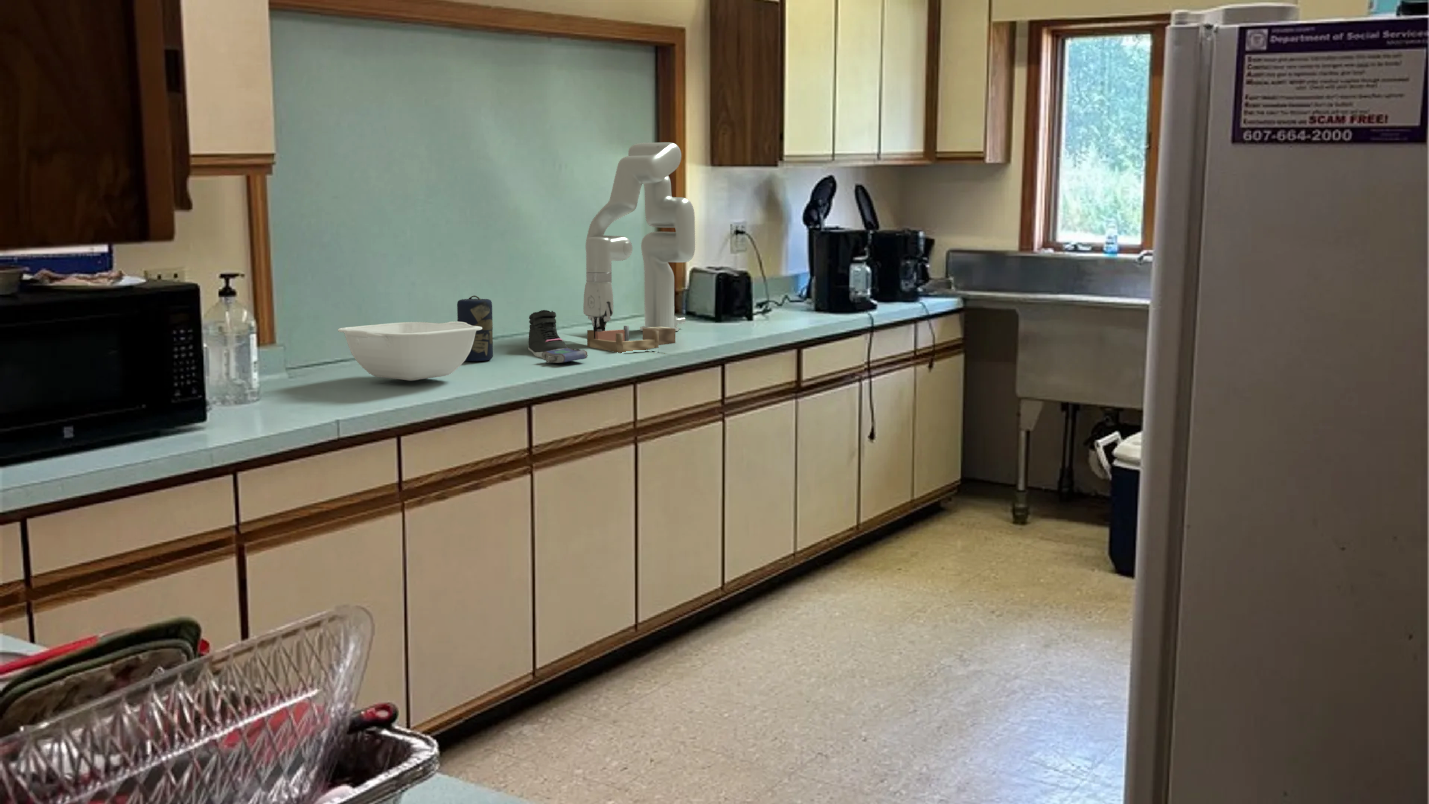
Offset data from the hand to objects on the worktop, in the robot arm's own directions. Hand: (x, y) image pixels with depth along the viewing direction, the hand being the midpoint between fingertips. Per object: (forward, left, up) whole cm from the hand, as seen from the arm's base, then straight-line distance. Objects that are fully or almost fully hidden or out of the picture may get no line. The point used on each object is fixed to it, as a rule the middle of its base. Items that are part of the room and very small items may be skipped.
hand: (599, 339), depth 411 cm
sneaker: (+23, +5, -3) cm, 23 cm away
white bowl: (+77, +23, -3) cm, 80 cm away
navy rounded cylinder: (+46, +4, -3) cm, 46 cm away
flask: (+26, +22, -4) cm, 34 cm away
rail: (-8, +2, -3) cm, 9 cm away
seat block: (-16, +9, -3) cm, 18 cm away
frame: (-2, +9, -3) cm, 10 cm away
